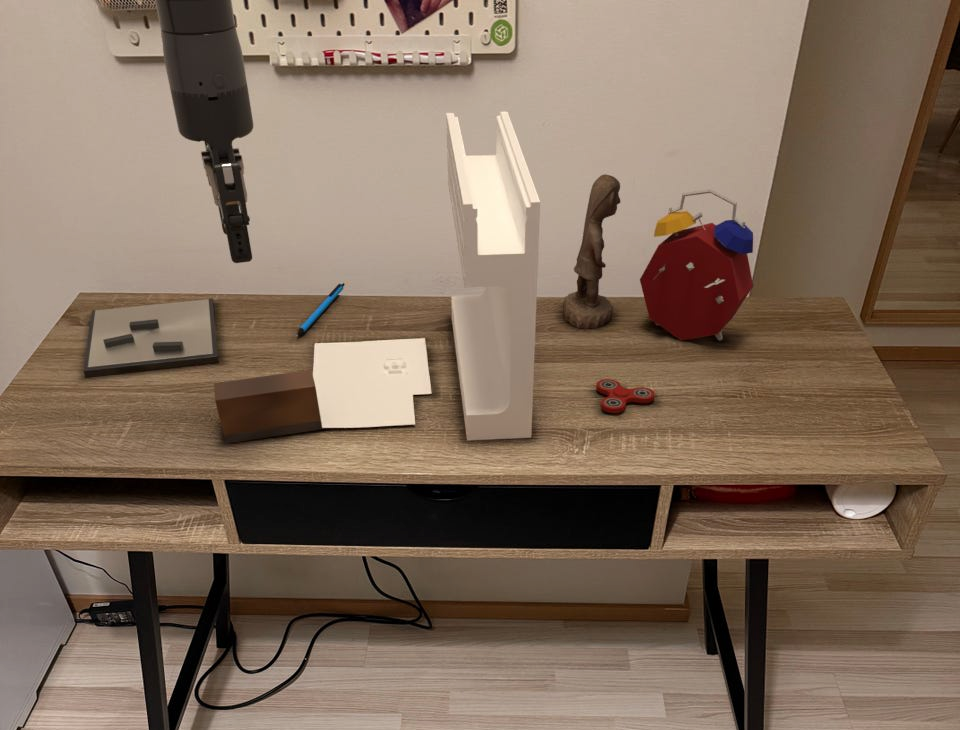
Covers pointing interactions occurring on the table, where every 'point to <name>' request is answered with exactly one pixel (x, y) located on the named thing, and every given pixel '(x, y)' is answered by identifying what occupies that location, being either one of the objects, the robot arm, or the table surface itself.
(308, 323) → the pen
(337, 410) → the paper
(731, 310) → the alarm clock
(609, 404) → the fidget spinner
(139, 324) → the stroke
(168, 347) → the stroke
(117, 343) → the stroke
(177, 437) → the table surface
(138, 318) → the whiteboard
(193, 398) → the table surface
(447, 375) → the table surface
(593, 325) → the figurine
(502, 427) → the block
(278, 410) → the eraser
